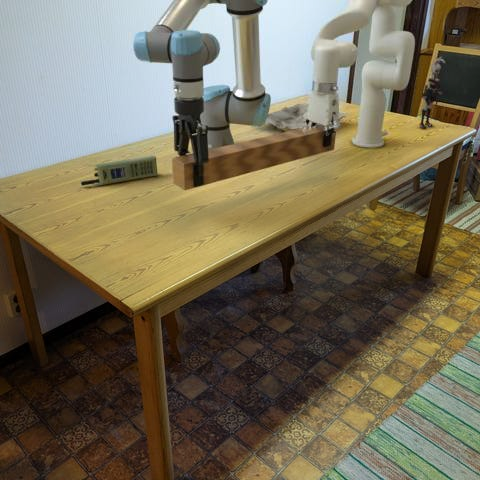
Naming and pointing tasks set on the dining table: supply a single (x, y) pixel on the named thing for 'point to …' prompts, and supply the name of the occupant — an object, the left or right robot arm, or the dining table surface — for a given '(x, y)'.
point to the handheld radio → (124, 170)
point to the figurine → (431, 92)
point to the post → (252, 155)
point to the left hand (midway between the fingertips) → (192, 181)
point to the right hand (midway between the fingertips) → (319, 142)
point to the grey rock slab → (292, 118)
